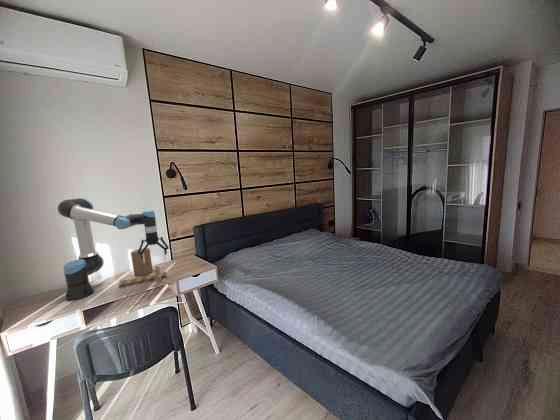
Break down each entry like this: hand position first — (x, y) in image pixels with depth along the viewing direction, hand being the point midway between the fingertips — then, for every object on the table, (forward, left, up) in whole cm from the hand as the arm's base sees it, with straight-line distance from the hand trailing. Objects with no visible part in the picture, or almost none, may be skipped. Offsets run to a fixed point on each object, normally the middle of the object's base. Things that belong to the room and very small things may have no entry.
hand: (154, 260), depth 185 cm
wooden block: (-11, +25, -16) cm, 32 cm away
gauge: (0, +4, -16) cm, 16 cm away
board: (-10, +8, -16) cm, 20 cm away
